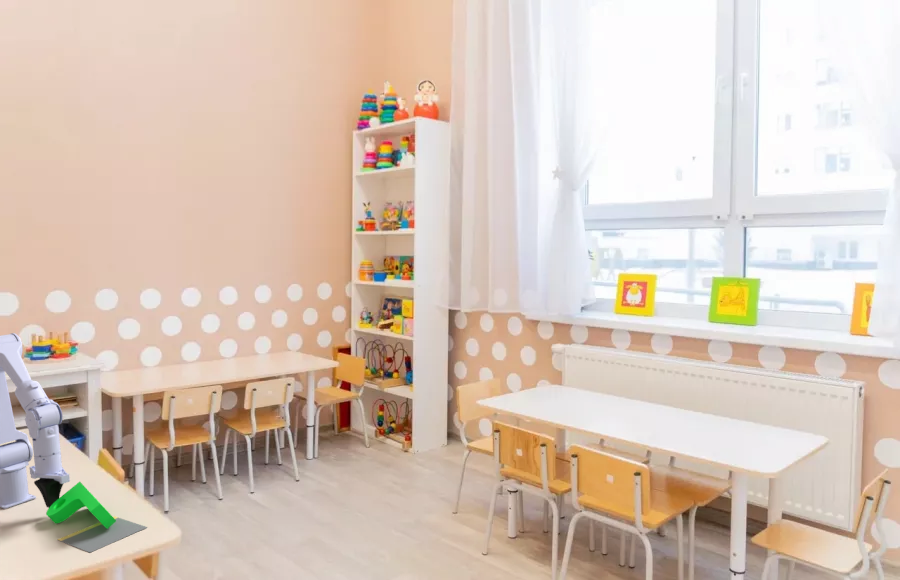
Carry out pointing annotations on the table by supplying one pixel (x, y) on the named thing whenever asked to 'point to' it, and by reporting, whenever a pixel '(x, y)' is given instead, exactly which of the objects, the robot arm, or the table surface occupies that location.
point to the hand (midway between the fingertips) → (52, 506)
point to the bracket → (78, 506)
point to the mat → (101, 535)
